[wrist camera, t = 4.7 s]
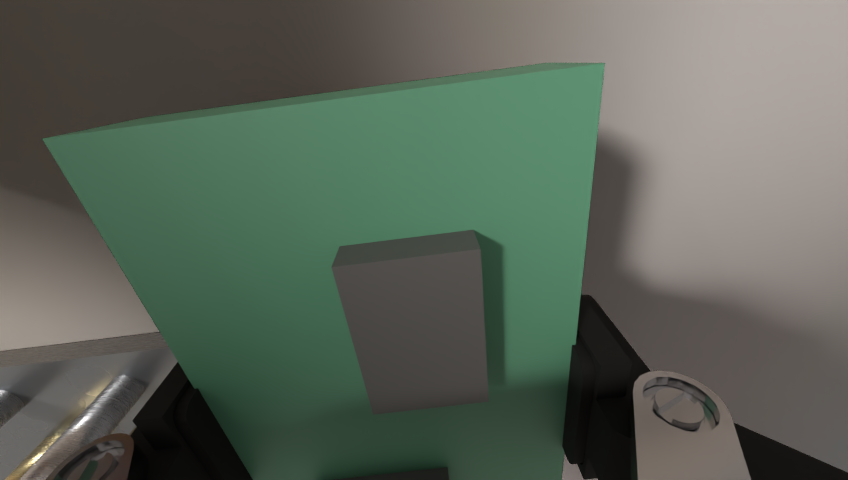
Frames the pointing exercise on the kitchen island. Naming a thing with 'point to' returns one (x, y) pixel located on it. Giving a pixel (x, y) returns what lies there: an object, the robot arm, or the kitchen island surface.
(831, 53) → the kitchen island surface
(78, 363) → the chassis
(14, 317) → the kitchen island surface
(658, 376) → the robot arm
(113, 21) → the kitchen island surface
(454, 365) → the board
